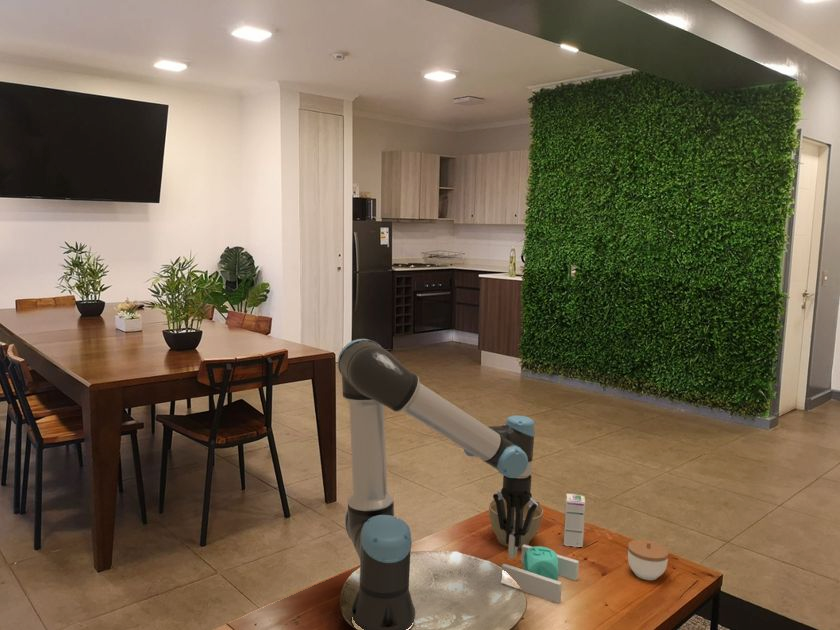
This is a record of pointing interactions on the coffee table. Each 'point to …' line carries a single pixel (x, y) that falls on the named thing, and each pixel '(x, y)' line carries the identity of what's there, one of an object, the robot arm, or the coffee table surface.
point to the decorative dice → (541, 562)
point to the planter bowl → (502, 534)
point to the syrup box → (574, 520)
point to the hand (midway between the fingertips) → (512, 556)
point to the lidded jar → (647, 559)
